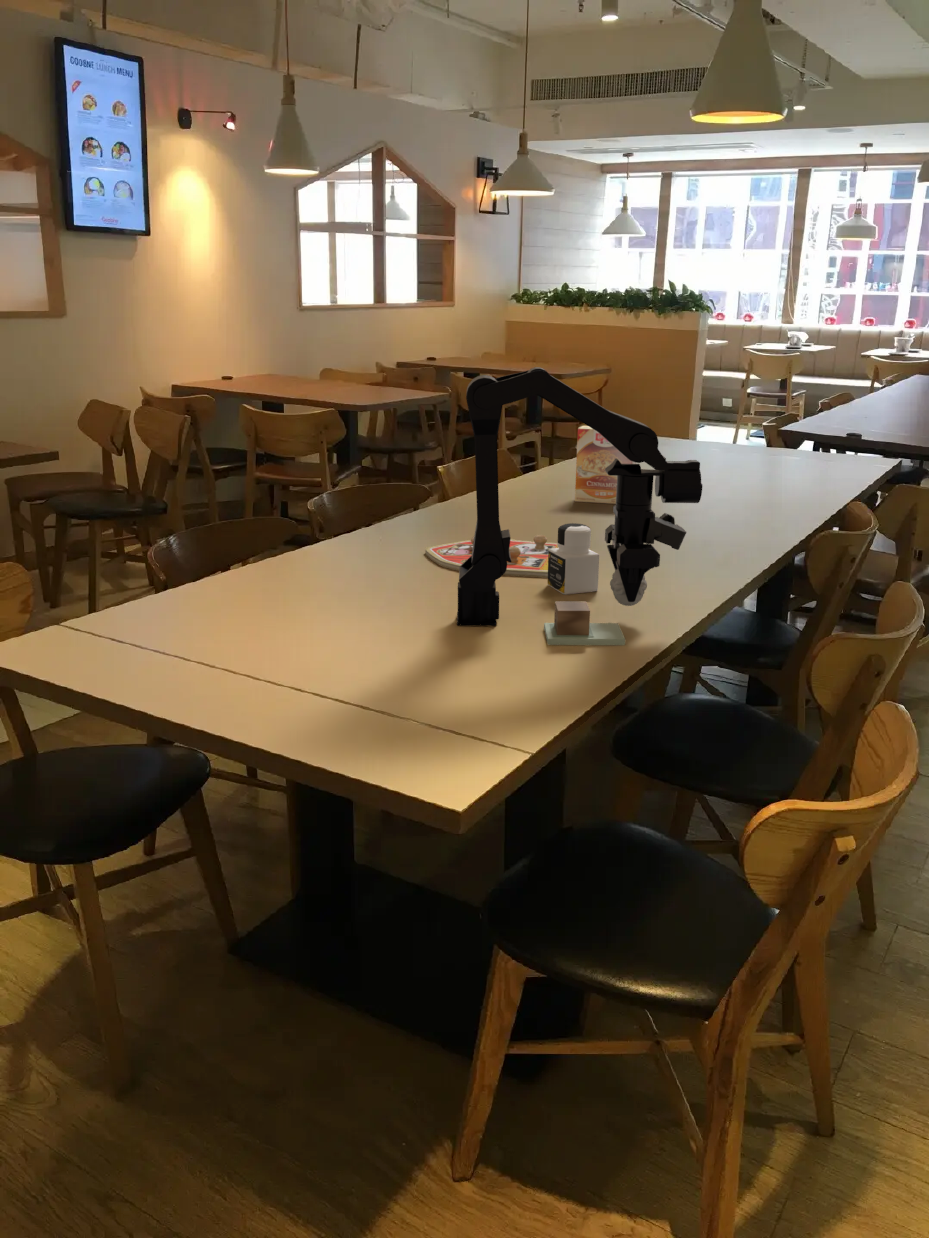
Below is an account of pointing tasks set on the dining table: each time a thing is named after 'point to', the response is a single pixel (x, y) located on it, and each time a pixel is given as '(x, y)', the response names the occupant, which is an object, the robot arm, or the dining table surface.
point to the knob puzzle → (524, 561)
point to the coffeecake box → (595, 467)
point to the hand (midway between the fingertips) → (628, 595)
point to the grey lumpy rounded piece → (620, 592)
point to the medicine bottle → (573, 561)
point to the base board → (597, 635)
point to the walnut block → (572, 618)
